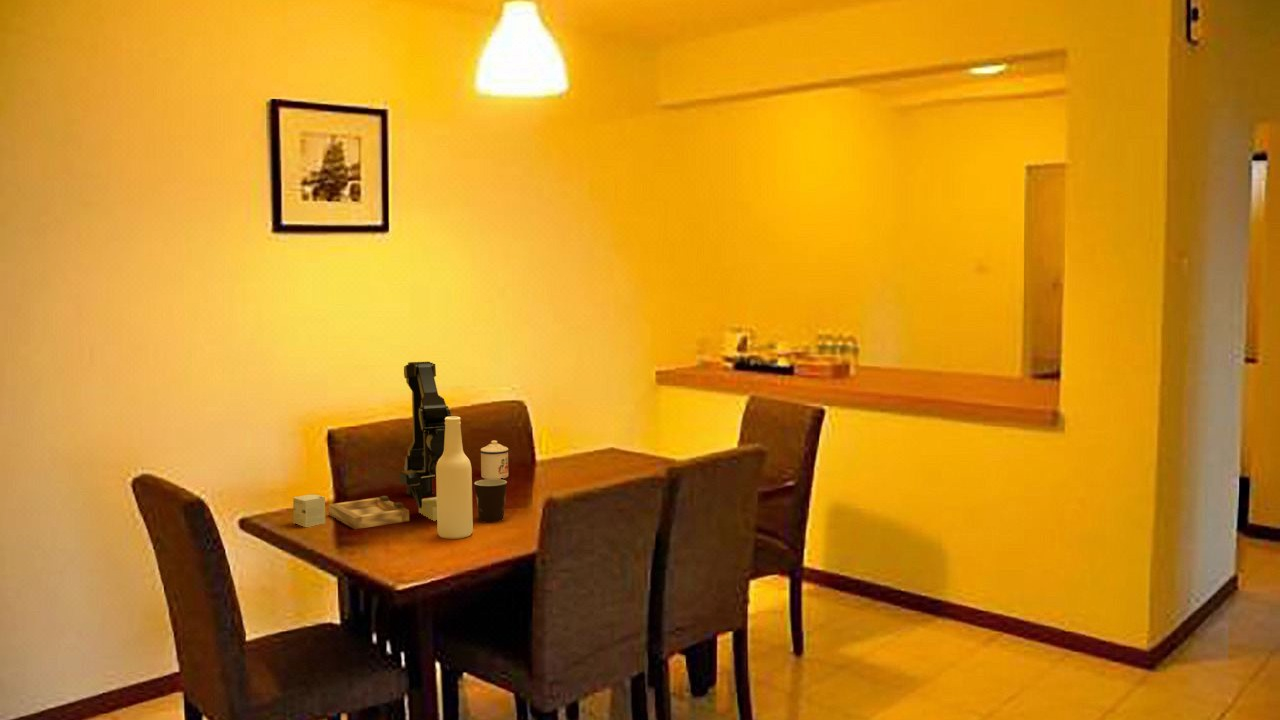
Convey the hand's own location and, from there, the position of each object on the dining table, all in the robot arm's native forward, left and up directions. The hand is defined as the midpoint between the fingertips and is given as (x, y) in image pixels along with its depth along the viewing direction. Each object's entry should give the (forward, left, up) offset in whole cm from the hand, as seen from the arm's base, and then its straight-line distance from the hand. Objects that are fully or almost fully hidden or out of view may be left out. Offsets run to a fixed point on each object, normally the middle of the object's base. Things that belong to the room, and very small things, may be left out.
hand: (436, 505), depth 290 cm
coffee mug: (-11, +12, -3) cm, 17 cm away
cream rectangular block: (0, 0, -3) cm, 3 cm away
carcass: (+16, -8, -3) cm, 18 cm away
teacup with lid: (-38, -37, -3) cm, 53 cm away
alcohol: (+5, +22, -3) cm, 23 cm away
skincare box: (+31, -11, -3) cm, 33 cm away
